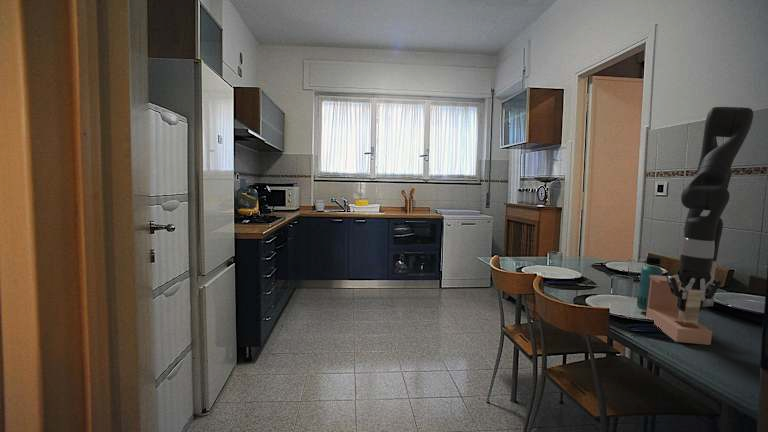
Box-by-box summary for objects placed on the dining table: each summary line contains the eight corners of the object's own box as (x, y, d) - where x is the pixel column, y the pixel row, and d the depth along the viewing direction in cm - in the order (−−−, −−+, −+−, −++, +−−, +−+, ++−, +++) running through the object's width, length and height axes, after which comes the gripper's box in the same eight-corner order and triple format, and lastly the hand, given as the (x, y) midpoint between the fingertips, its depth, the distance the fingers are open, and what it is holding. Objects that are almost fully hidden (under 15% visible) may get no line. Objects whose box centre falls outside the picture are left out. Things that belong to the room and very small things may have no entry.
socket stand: (676, 321, 132) (682, 277, 130) (712, 345, 114) (719, 294, 112) (644, 318, 134) (649, 274, 132) (674, 341, 116) (681, 291, 114)
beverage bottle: (654, 310, 141) (661, 255, 138) (660, 317, 135) (668, 259, 132) (633, 308, 143) (640, 253, 140) (638, 314, 137) (645, 257, 134)
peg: (697, 323, 116) (702, 290, 115) (684, 322, 117) (689, 289, 116) (690, 319, 120) (695, 287, 118) (678, 318, 120) (682, 286, 119)
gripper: (677, 255, 113) (669, 313, 115) (733, 258, 111) (724, 318, 113) (663, 249, 120) (656, 304, 123) (715, 253, 118) (707, 308, 121)
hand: (689, 310), depth 118 cm, fingers closed on peg, 3 cm apart
